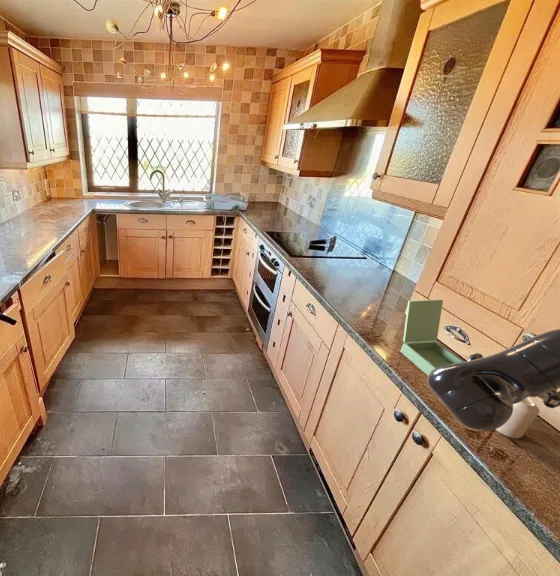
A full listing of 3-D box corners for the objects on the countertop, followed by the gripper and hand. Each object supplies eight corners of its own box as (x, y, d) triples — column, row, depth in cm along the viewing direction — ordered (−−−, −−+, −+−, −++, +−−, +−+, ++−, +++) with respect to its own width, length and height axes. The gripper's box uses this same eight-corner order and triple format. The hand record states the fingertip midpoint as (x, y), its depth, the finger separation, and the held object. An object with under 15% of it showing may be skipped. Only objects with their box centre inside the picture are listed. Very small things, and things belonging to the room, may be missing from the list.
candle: (499, 417, 80) (517, 388, 76) (526, 434, 75) (548, 405, 71) (486, 423, 78) (504, 395, 74) (513, 441, 74) (535, 412, 69)
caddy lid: (443, 299, 100) (431, 296, 104) (409, 301, 100) (399, 298, 104) (437, 340, 103) (426, 335, 107) (404, 342, 102) (394, 337, 107)
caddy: (467, 377, 93) (472, 367, 92) (432, 379, 93) (436, 369, 91) (431, 349, 105) (435, 340, 103) (400, 351, 105) (403, 342, 103)
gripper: (565, 392, 52) (582, 381, 60) (463, 346, 63) (490, 342, 72) (537, 426, 54) (558, 411, 63) (445, 376, 66) (472, 369, 74)
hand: (521, 374), depth 67 cm, fingers open, 8 cm apart
